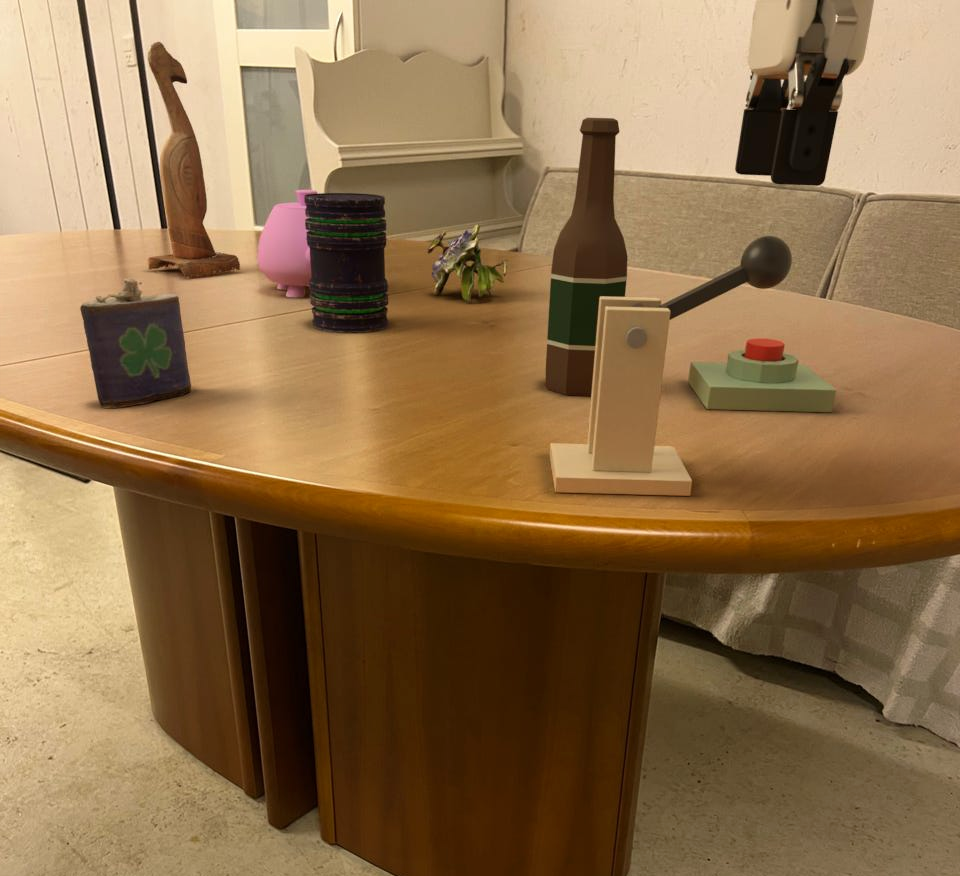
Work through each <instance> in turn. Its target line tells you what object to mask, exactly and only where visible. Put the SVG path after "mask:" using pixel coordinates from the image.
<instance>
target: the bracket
mask: <svg viewBox="0 0 960 876" xmlns="http://www.w3.org/2000/svg"><path fill="white" fill-rule="evenodd" d="M640 302H641V303H642V304H643V305H644V306H645V307H632V306H634V305H636V304H638V303H640ZM660 305H662V299H661V298H659V297H643V296H642V297H637V296H625V297H607V296H601V297H600V298H599V310H598V322H597V334H596V346H595V358H594V370H593V382H592V394H591V396H590V408H589V417H588V418H589V419H588V430H587V431H588V432H587V441H586V443H560V442H559V443H557V442H551V443H550V445H549V449H550V450H549V461H550V468H551V474H552V480H553V481H552V482H553V486H554V492H555V493H568V494H601V495H602V494H606V495H638V496H639V495H642V496H643V495H645V496H681V497H689V496H691V491H692V485H693V480H692V478H691V476H690V474H689V472H688V470H687V468H686V467H685V465H684V463H683V461H682V459H681V457H680V455H679V453H678V451H677V450H676V448H675V446H674V445H673V446H669V445H655V444H656V437H657V427H658V418H659V411H660V402H661V393H662V387H663V377H664V368H665V362H666V353H667V352H666V351H667V344H668V337H669V327H670V321H671V320H670V310H669V309H668V308H656V307H658V306H660Z"/></svg>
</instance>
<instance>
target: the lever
mask: <svg viewBox="0 0 960 876" xmlns="http://www.w3.org/2000/svg"><path fill="white" fill-rule="evenodd" d="M792 255H793V254H792V252H791V248H790V247H789V245H788V244H787V243H786V242H785V241H784V240H783V239H781V238H780V237H778V236H774V235H764V236H760V237H758V238H756V239H754V240H753V241H751V242H750V243H749V244H748V245H747V246H746V248H745V249H744V251H743V253H742V256H741V259H740V265H738V266H736V267H734V268H733V269H730V270H729V271H728V270H727V271H726V272H725V273H724V272H723V273H722V274H720V275H718V276H716V277H713V278H712V279H710V280H709V281H706V282H704V283H702V284H699V285H698V286H696V287H693V288H692V289H690V290H688V291H686V292H684V293H682V294H680V295H678V296H677V297H674V298H672V299H670V300H668V301H667V302H664V303H661V305H660V306H658V307H656V308H668V309H669V310H670V320H669V321H671V320H673V319H676V318H677V317H679V316H681V315H684V314H685V313H687V312H689V311H691V310H694V309H695V308H697V307H699V306H702V305H703V304H705V303H707V302H709V301H711V300H713V299H715V298H717V297H719V296H722V295H723V294H726V293H727V292H730V291H733V289H736V288H738V287H740V286H742V285H744V284H746V283H747V284H748V285H750V286H751V287H753V288H755V289H761V290H766V289H771V288H774V287H776V286H778V285H779V284H781V283H783V281H784V280H785V279H786V278H787V276H788V275H789V273H790V271H791V268H792V263H793V256H792ZM632 307H645V306H644V305H643V304H642V303H641V302H640V303H638V304H636V305H634V306H632Z"/></svg>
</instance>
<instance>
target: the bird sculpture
mask: <svg viewBox="0 0 960 876" xmlns="http://www.w3.org/2000/svg"><path fill="white" fill-rule="evenodd" d="M147 62H148V66H149V68H150V71H151V73H152V75H153V77H154V80H155V81H156V84H157V87H158V90H159V93H160V95H161V99H162V102H163V103H164V107H165V109H166V113H167V118H168V121H169V125H170V129H171V130H170V131H171V132H170V134H169V135H168V137H167V138H166V140H165V142H164V143H163V146H162V149H161V153H160V156H159V175H160V182H161V190H162V196H163V197H162V198H163V199H162V200H163V205H164V211H165V217H166V224H167V229H168V236H169V240H170V245H171V251H172V253H171V254H166V255H157V256H156V255H155V256H151V257H148V258H147V265H148V267H147V269H148V270H150V271H151V270H159V269H162V268H164V267H165V268H170V267H175V266H177V267H178V268H179V270H180V271H181V273H182V274H183V277H185V279H187V276H189V278H190V279H192V277H194V276H195V277H196V278H197V277H199V278H200V277H201V276H202V275H203V276H209V275H211V274H212V275H216V274H222V273H226V272H228V273H229V272H232V271H234V272H235V271H239V270H241V263H240V259H239V258H238V256H237V255H235V254H228V253H224V252H220V251H216V250H215V249H214V246H213V243H212V241H211V238H210V236H209V234H208V232H207V229H206V228H205V225H204V220H205V217H206V215H207V210H208V199H207V191H206V183H205V177H204V168H203V162H202V157H201V152H200V145H199V143H198V140H197V137H196V133H195V130H194V128H193V126H192V123H191V120H190V118H189V116H188V114H187V112H186V110H185V108H184V105H183V103H182V101H181V98H180V96H179V94H178V92H177V90H176V88H175V86H174V83H175V82H176V83H177V82H178V83H179V84H185V85H187V84H188V79H187V75H186V72H185V69H184V67H183V65H182V64H181V62H179V60H177V59H175V58H174V57H173V56H172V55H171V53H169V52H168V51H167V49H166V47H165V45H164V44H163V43H162V42H161V41H156V42H153V43H152V44H150V49H149V51H148V52H147Z"/></svg>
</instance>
